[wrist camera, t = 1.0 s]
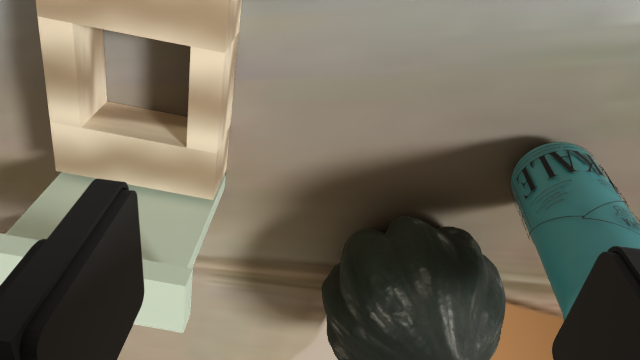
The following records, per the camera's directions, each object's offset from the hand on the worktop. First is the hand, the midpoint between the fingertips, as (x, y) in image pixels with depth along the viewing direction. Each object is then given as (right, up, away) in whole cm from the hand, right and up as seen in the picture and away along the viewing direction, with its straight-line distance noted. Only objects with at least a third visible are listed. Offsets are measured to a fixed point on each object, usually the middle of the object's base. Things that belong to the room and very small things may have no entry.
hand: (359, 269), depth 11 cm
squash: (+7, -5, +37) cm, 38 cm away
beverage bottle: (+17, +3, +31) cm, 35 cm away
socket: (-13, +10, +29) cm, 33 cm away
